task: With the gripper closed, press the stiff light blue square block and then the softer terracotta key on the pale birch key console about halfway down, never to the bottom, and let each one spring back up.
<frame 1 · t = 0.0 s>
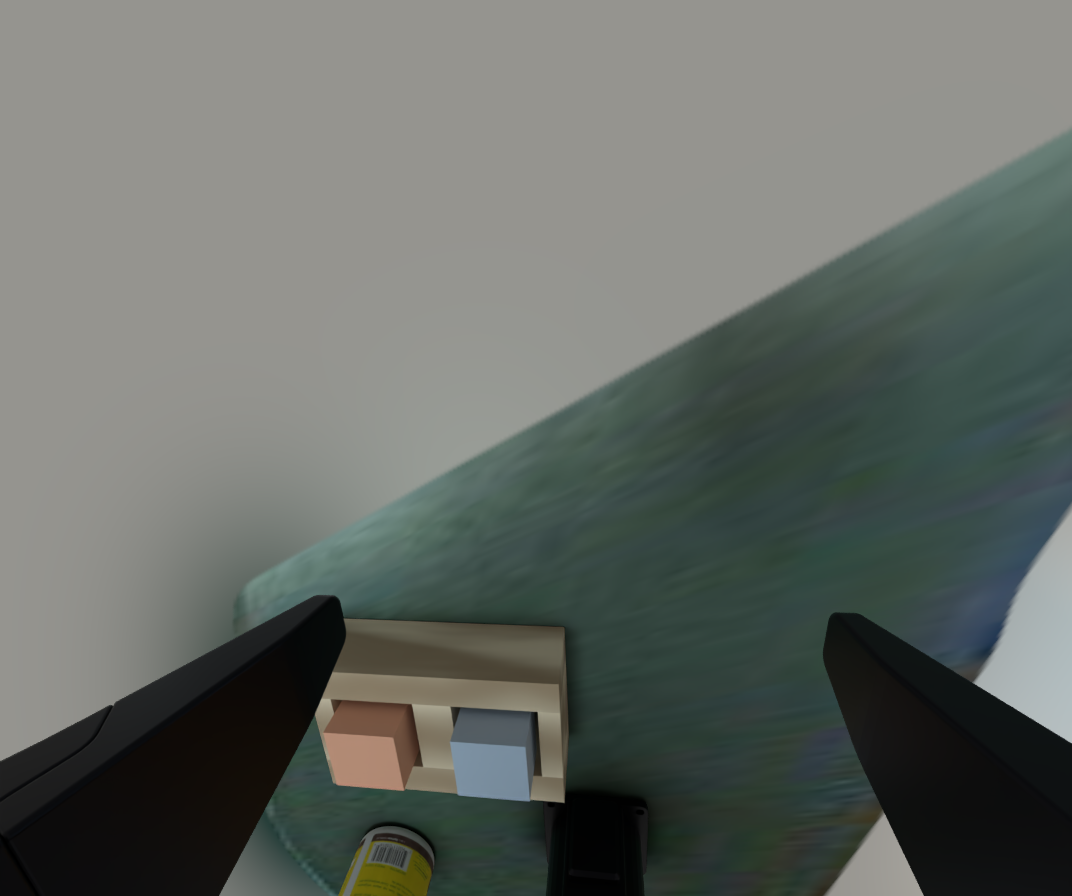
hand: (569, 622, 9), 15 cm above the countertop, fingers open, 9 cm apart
key console: (457, 678, 29), on the countertop
key terracotta: (376, 737, 26), point 4 cm above the countertop, slide at 0.0 cm
supplement bottle: (401, 844, 36), on the countertop
light blue square block: (496, 745, 25), point 4 cm above the countertop, slide at 0.0 cm
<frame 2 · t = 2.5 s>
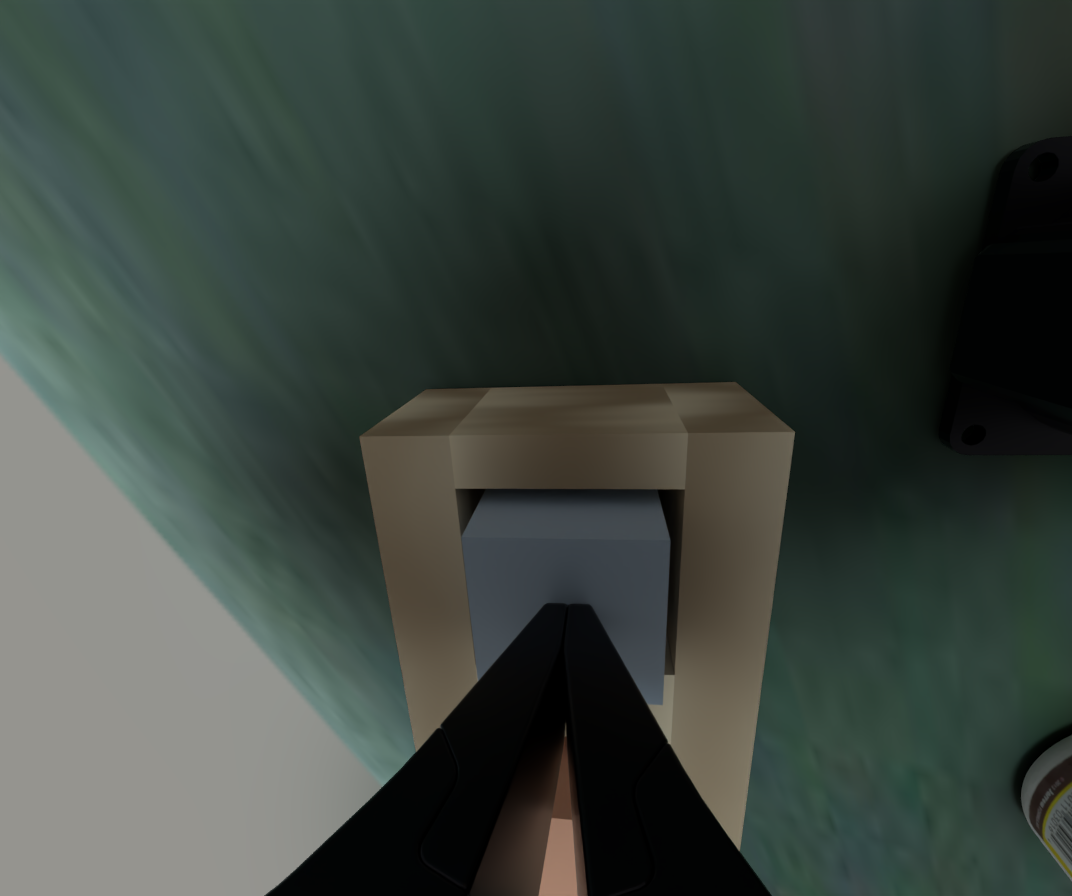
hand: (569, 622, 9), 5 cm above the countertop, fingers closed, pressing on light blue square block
key console: (580, 596, 15), on the countertop
key terracotta: (576, 810, 12), point 4 cm above the countertop, slide at 0.0 cm
light blue square block: (570, 579, 10), point 4 cm above the countertop, slide at 0.4 cm, touching gripper
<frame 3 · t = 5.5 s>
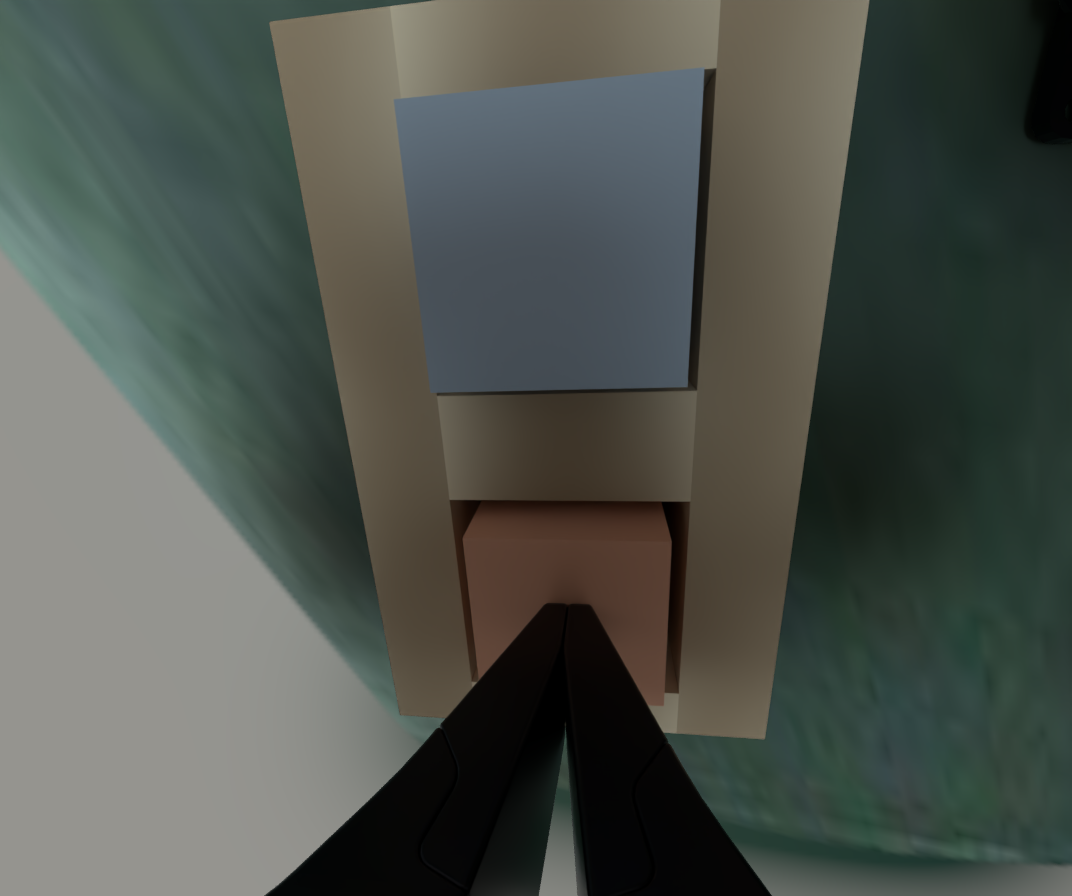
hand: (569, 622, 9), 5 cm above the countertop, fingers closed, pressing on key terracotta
key console: (575, 394, 12), on the countertop
key terracotta: (571, 580, 10), point 3 cm above the countertop, slide at 0.9 cm, touching gripper
light blue square block: (557, 254, 8), point 4 cm above the countertop, slide at 0.2 cm
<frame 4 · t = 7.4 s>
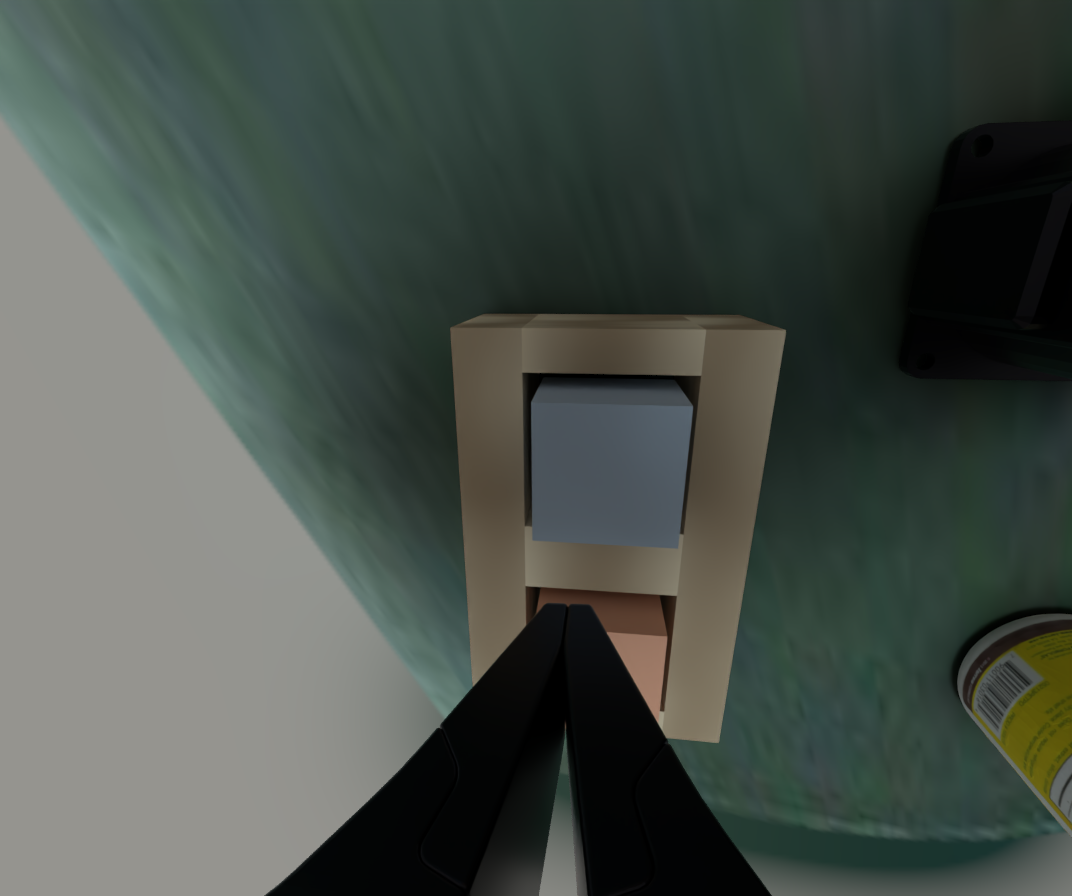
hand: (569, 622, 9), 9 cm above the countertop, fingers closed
key console: (600, 500, 18), on the countertop
key terracotta: (597, 647, 15), point 4 cm above the countertop, slide at 0.3 cm
supplement bottle: (1027, 662, 18), on the countertop
light blue square block: (606, 457, 13), point 4 cm above the countertop, slide at 0.2 cm
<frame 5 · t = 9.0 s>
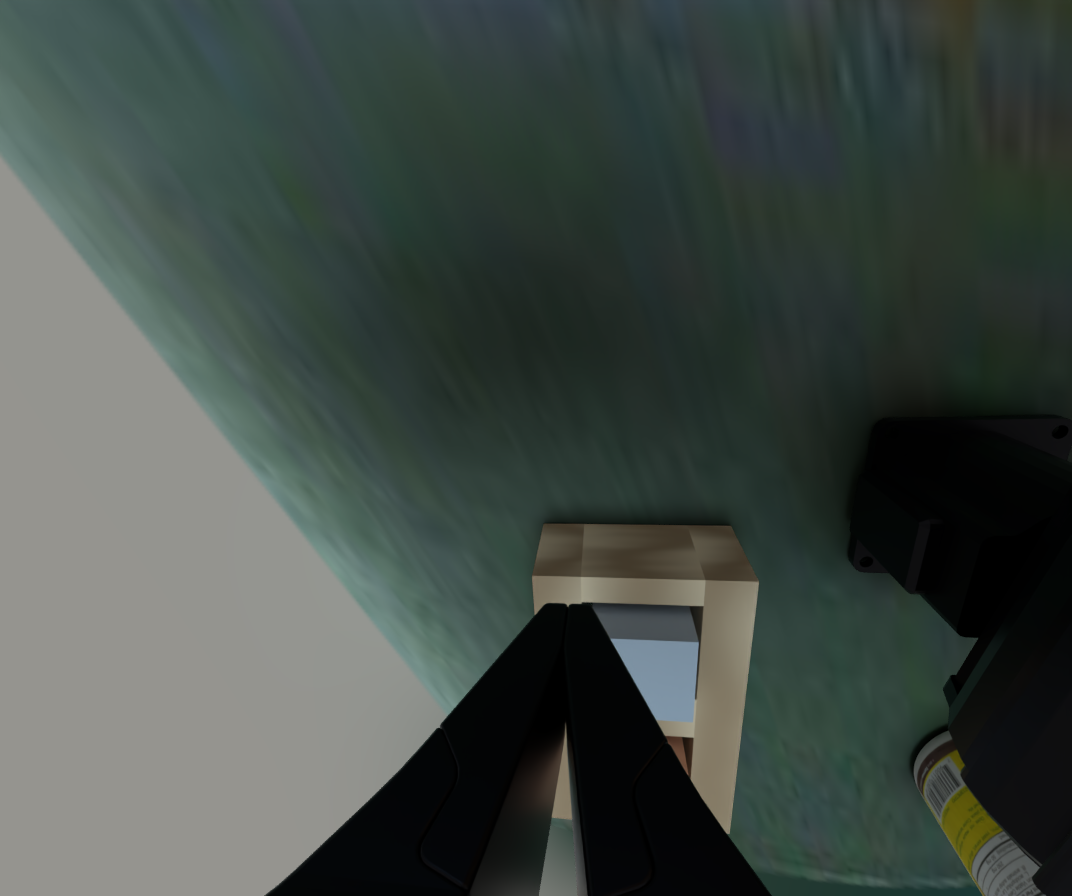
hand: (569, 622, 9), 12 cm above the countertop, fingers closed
key console: (632, 644, 24), on the countertop
key terracotta: (637, 769, 21), point 4 cm above the countertop, slide at 0.3 cm
supplement bottle: (968, 756, 24), on the countertop
light blue square block: (640, 652, 19), point 4 cm above the countertop, slide at 0.2 cm
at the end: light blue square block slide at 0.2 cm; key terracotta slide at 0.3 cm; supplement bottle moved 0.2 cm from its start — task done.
